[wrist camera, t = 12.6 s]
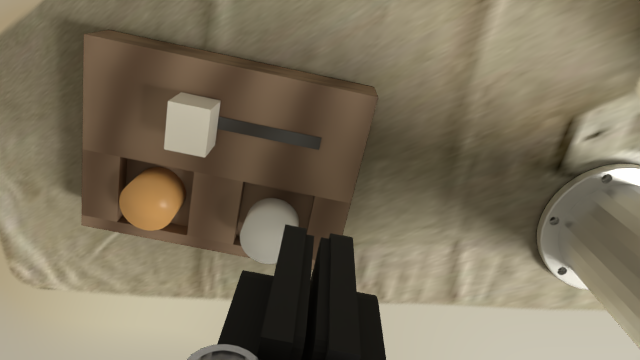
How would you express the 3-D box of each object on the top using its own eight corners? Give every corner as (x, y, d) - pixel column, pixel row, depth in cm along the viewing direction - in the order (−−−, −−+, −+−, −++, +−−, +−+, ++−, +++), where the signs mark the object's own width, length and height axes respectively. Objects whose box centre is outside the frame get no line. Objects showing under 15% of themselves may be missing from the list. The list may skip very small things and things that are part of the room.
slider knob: (220, 100, 35) (210, 109, 32) (215, 144, 36) (205, 157, 33) (181, 92, 35) (167, 100, 32) (177, 137, 36) (163, 149, 33)
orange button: (188, 172, 39) (176, 186, 36) (183, 218, 40) (172, 235, 38) (135, 162, 39) (120, 175, 36) (133, 208, 40) (118, 224, 37)
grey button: (303, 203, 38) (301, 220, 35) (293, 249, 40) (290, 268, 37) (250, 193, 38) (244, 209, 35) (243, 239, 39) (236, 258, 37)
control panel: (373, 87, 38) (378, 97, 34) (332, 250, 44) (332, 274, 40) (108, 29, 37) (83, 34, 33) (103, 205, 43) (81, 225, 39)
